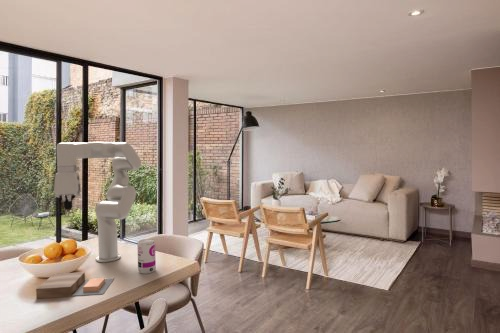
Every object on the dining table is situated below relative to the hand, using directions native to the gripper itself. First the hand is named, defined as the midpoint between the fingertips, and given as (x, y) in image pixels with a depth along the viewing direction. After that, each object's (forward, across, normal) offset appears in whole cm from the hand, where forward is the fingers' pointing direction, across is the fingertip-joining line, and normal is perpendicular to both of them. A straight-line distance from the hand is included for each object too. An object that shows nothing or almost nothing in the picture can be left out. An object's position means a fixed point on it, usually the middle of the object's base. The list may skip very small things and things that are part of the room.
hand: (68, 209), depth 152 cm
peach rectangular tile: (+30, -15, +13) cm, 36 cm away
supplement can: (+32, -34, -3) cm, 47 cm away
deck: (+32, -2, +13) cm, 35 cm away
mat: (+32, -14, +13) cm, 38 cm away
